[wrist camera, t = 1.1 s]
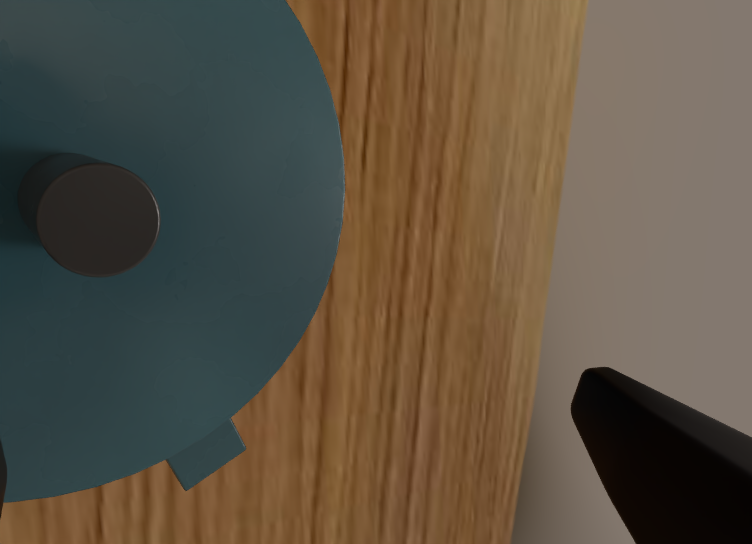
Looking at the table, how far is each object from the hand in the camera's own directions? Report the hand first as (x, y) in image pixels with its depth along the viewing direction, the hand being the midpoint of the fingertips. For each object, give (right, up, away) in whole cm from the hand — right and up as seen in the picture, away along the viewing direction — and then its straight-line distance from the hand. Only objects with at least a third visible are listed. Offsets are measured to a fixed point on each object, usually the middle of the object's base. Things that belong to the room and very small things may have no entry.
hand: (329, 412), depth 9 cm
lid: (-7, +4, +6) cm, 11 cm away
